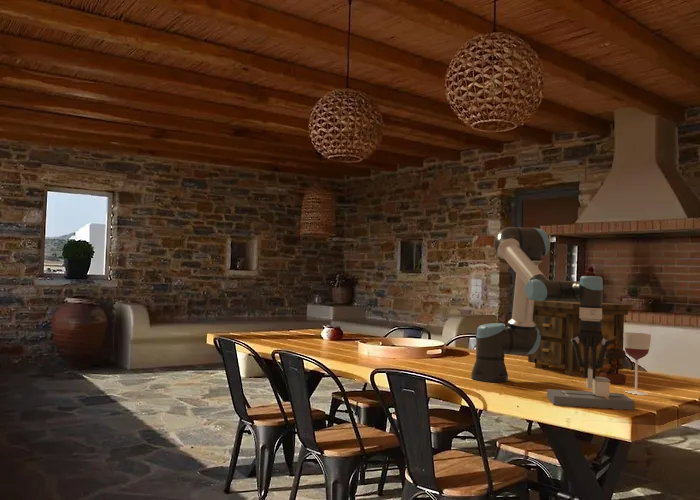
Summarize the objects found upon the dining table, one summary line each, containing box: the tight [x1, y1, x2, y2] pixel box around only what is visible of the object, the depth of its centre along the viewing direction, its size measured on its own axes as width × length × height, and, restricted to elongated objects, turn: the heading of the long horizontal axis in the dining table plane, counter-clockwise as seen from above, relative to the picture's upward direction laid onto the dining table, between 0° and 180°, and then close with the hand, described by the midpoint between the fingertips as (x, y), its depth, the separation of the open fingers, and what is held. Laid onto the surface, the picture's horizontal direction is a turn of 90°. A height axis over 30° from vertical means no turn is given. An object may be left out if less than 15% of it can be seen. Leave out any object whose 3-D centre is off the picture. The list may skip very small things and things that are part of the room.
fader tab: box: [592, 376, 610, 397], centre depth 219 cm, size 4×6×6 cm
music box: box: [599, 336, 627, 385], centre depth 270 cm, size 15×11×20 cm
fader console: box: [546, 388, 635, 411], centre depth 220 cm, size 26×14×3 cm, turn 82°
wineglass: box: [623, 332, 652, 396], centre depth 245 cm, size 9×10×23 cm
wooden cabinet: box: [527, 300, 633, 376], centre depth 302 cm, size 35×35×33 cm
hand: (589, 387), depth 220 cm, fingers closed
